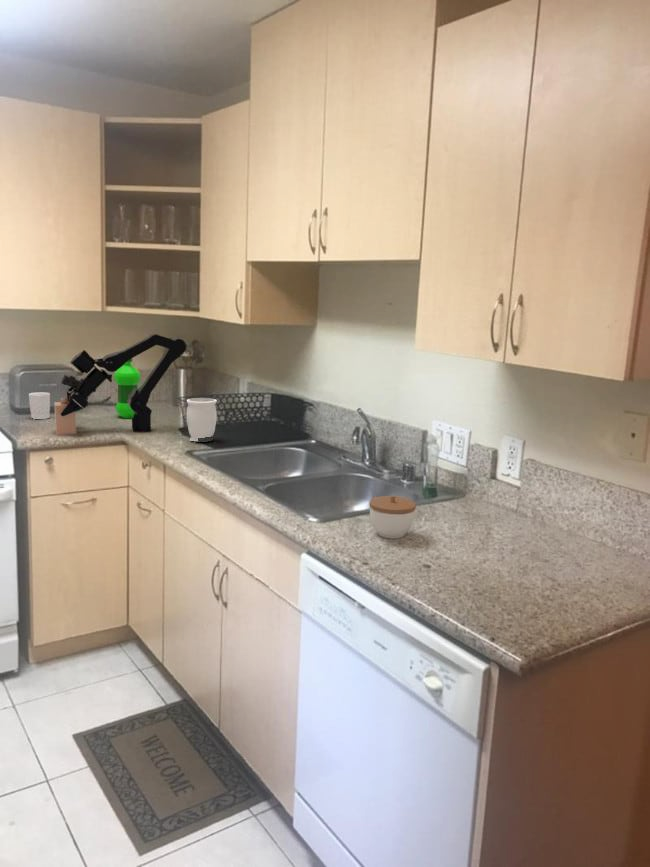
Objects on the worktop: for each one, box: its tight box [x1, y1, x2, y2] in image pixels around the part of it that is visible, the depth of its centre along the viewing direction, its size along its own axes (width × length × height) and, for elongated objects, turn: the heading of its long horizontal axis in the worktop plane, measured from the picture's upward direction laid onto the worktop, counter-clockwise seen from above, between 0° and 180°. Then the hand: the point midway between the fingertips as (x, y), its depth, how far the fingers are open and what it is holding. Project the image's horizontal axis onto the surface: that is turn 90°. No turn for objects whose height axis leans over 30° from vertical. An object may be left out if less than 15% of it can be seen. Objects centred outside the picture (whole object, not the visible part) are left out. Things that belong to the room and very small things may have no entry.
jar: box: [186, 397, 218, 442], centre depth 251 cm, size 11×10×15 cm
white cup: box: [28, 391, 51, 420], centre depth 281 cm, size 8×8×10 cm
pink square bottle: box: [53, 397, 77, 436], centre depth 254 cm, size 6×7×13 cm
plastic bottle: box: [113, 358, 141, 419], centre depth 288 cm, size 10×10×25 cm
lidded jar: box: [369, 494, 417, 540], centre depth 163 cm, size 11×11×9 cm
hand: (60, 413), depth 253 cm, fingers open, 9 cm apart
